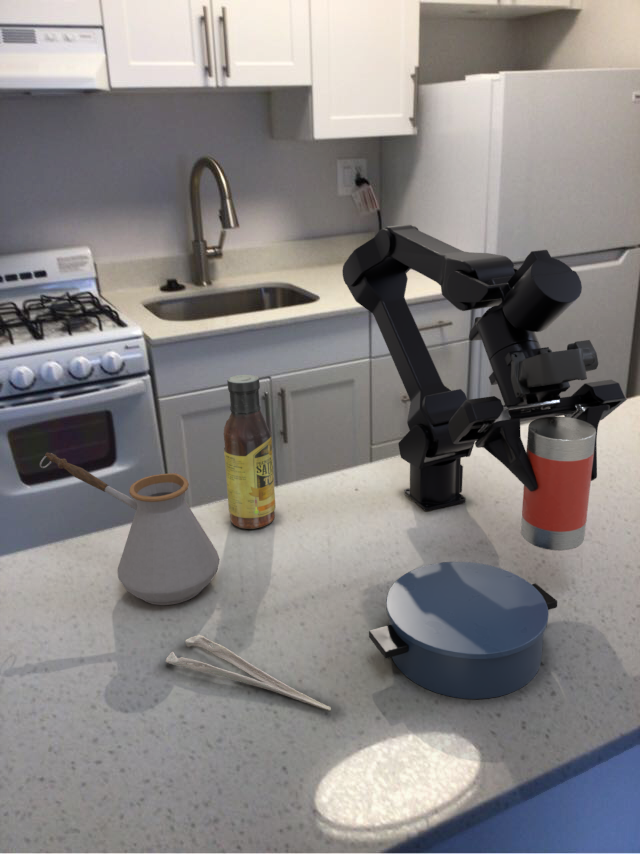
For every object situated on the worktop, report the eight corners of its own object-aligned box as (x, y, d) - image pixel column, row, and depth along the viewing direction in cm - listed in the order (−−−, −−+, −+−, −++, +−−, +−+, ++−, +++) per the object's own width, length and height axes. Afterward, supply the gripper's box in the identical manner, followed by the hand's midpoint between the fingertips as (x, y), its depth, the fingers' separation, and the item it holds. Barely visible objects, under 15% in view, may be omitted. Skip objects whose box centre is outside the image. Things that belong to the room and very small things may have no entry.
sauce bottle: (269, 533, 98) (259, 387, 91) (223, 530, 100) (210, 386, 92) (281, 510, 104) (273, 371, 97) (238, 507, 105) (226, 370, 98)
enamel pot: (416, 728, 65) (416, 679, 63) (344, 629, 79) (343, 586, 77) (595, 667, 72) (600, 621, 70) (500, 585, 85) (502, 545, 83)
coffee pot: (238, 569, 90) (228, 453, 85) (188, 624, 80) (173, 497, 75) (92, 541, 98) (74, 434, 93) (30, 588, 88) (6, 471, 83)
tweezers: (162, 667, 74) (161, 651, 73) (193, 641, 78) (192, 625, 77) (317, 739, 66) (317, 721, 65) (342, 706, 70) (343, 688, 69)
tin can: (515, 520, 85) (522, 416, 80) (574, 519, 85) (585, 415, 80) (527, 551, 79) (536, 440, 74) (592, 550, 79) (604, 439, 74)
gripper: (464, 324, 74) (516, 470, 69) (625, 306, 79) (686, 441, 73) (429, 377, 84) (471, 509, 79) (574, 358, 89) (624, 481, 83)
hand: (564, 484), depth 78 cm, fingers closed on tin can, 7 cm apart
